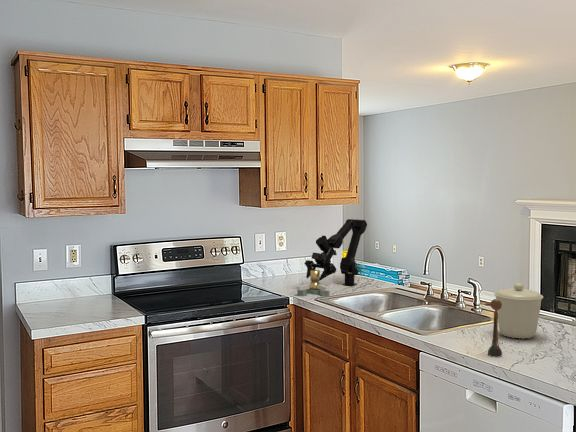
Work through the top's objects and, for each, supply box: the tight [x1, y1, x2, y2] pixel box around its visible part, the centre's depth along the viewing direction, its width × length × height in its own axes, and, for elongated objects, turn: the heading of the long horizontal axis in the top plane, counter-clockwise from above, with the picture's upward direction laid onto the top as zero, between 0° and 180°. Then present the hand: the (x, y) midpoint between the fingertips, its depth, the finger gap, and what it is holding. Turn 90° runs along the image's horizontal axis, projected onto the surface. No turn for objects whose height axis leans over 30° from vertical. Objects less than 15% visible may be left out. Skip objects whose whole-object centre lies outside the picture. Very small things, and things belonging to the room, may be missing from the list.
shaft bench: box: [296, 283, 330, 297], centre depth 322 cm, size 18×17×5 cm
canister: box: [494, 282, 544, 340], centre depth 239 cm, size 18×18×21 cm
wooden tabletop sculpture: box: [485, 298, 503, 357], centre depth 214 cm, size 6×5×20 cm
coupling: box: [309, 269, 321, 291], centre depth 328 cm, size 5×5×12 cm
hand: (313, 278), depth 327 cm, fingers open, 9 cm apart
